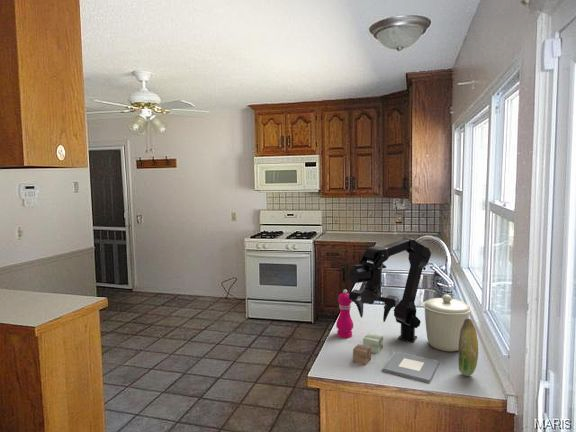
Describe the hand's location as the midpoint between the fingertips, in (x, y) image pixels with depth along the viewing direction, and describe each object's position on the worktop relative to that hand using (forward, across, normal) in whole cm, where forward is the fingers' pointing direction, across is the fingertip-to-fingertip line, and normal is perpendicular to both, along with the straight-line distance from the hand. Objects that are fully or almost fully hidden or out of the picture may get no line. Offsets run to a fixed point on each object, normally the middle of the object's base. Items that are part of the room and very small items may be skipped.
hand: (372, 319), depth 159 cm
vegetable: (+12, +35, -4) cm, 38 cm away
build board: (+12, +17, -7) cm, 22 cm away
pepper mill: (+12, -15, +7) cm, 21 cm away
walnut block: (+12, 0, -12) cm, 17 cm away
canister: (+12, +24, +18) cm, 32 cm away
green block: (+12, 0, 0) cm, 12 cm away
